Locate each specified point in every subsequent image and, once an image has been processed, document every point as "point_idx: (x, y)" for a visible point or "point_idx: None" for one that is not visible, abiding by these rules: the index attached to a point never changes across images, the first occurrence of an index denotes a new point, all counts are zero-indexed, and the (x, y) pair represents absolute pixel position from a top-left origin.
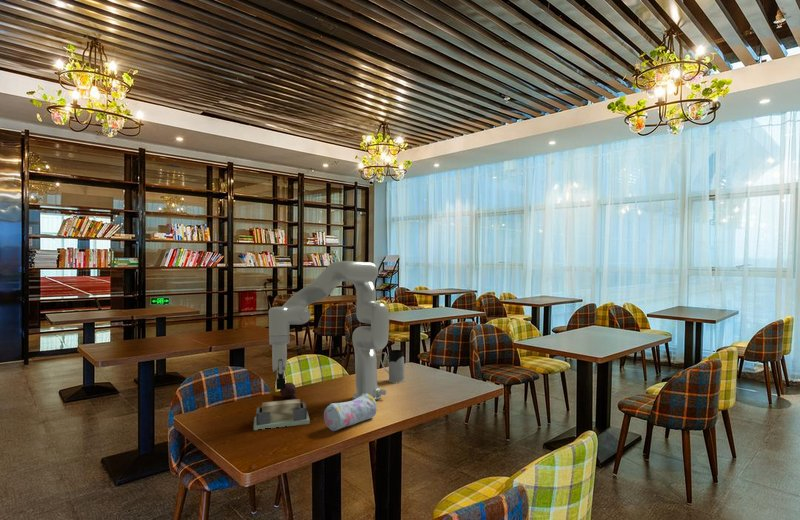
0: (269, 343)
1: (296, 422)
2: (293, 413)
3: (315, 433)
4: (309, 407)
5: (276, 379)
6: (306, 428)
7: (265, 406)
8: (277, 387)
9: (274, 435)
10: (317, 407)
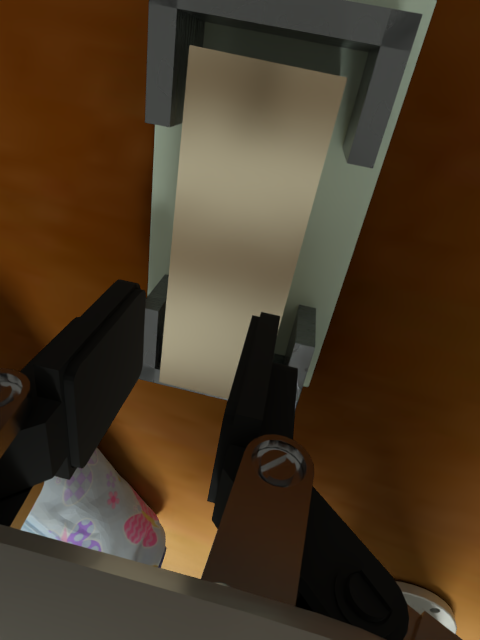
0: None
1: (149, 281)
2: (163, 296)
3: (7, 314)
4: (444, 423)
5: (40, 361)
6: (89, 302)
7: (185, 90)
8: (109, 299)
9: (25, 110)
10: (408, 449)
